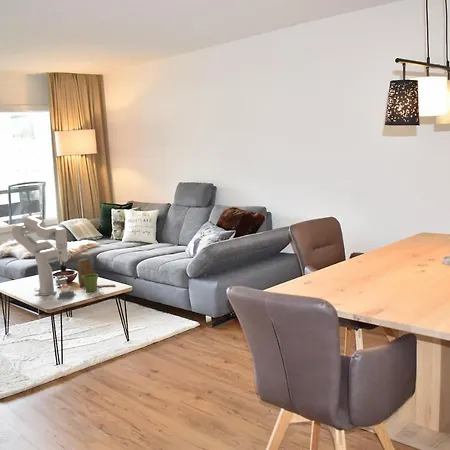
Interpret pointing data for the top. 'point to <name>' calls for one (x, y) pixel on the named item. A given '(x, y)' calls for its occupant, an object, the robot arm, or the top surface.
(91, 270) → the block
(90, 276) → the plant pot
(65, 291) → the popper dome
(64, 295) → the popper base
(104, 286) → the bracket
